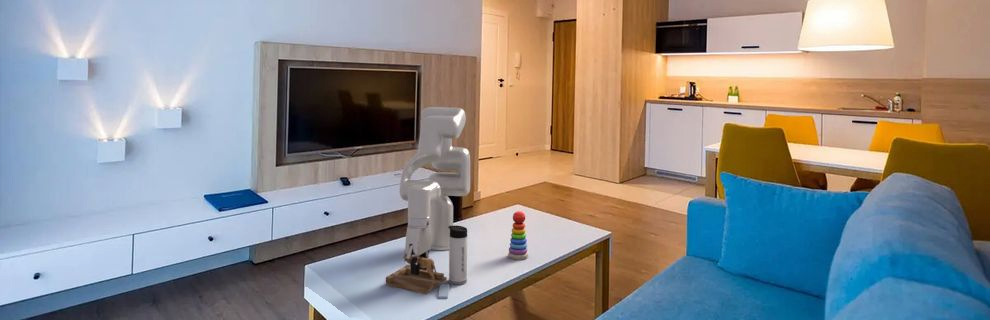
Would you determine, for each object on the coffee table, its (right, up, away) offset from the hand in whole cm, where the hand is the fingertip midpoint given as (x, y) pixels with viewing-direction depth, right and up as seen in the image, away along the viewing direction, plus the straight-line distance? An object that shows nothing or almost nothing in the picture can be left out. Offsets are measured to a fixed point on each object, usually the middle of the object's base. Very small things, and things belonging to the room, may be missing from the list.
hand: (419, 271), depth 185 cm
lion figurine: (+1, -2, -1) cm, 2 cm away
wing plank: (+9, -6, -7) cm, 13 cm away
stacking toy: (+36, 0, +29) cm, 46 cm away
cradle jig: (-1, -4, +1) cm, 4 cm away
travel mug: (+13, -4, +3) cm, 14 cm away
